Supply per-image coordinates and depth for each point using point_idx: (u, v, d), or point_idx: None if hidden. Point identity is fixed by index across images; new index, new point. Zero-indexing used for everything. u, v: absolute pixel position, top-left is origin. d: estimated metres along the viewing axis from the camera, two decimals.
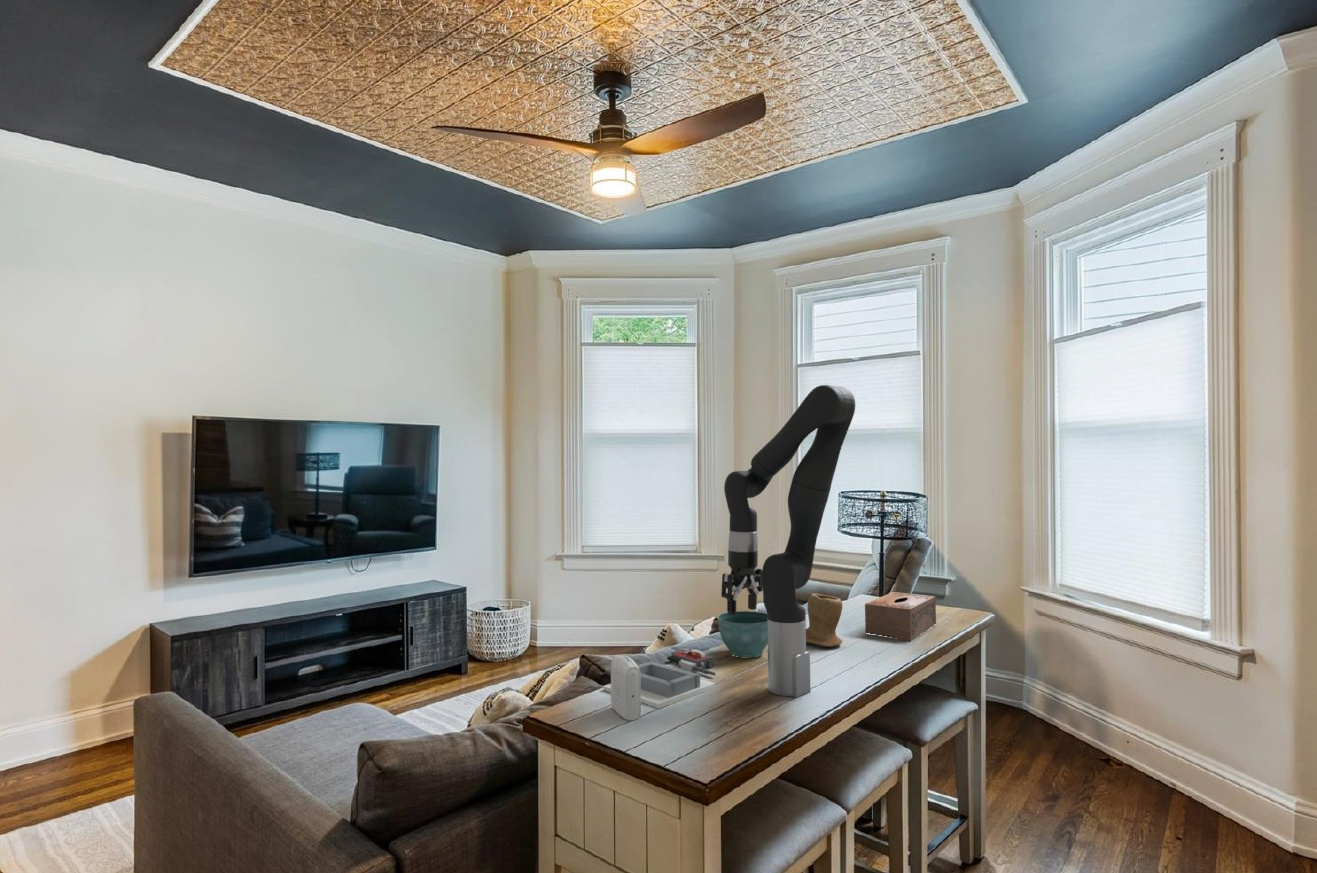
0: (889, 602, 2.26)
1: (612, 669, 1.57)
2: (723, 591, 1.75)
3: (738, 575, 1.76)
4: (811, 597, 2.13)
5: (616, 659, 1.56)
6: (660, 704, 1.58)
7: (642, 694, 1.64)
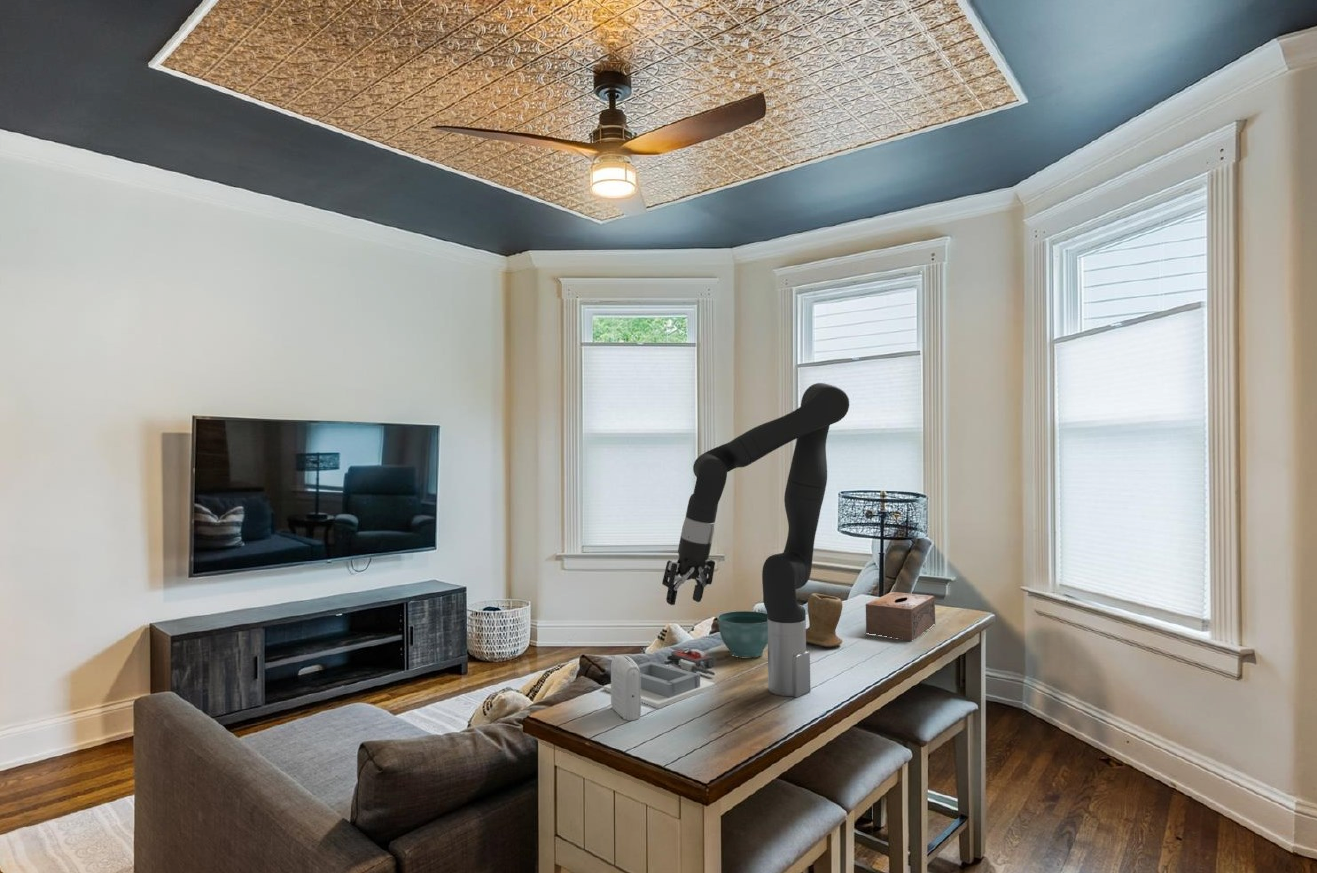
0: (889, 602, 2.26)
1: (612, 669, 1.57)
2: (665, 579, 1.62)
3: (684, 565, 1.63)
4: (811, 597, 2.13)
5: (616, 659, 1.56)
6: (660, 704, 1.58)
7: (642, 694, 1.64)
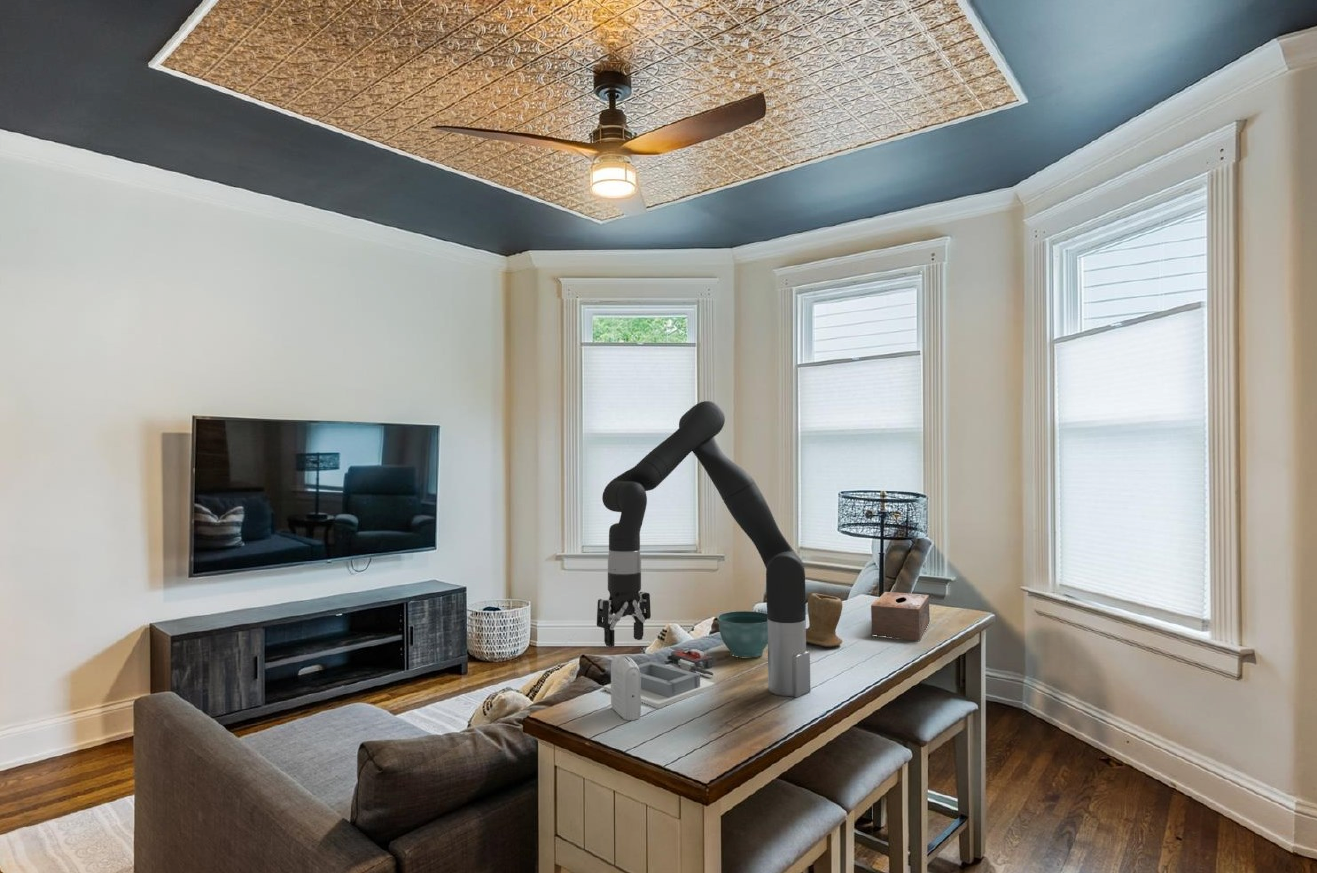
0: (892, 602, 2.25)
1: (612, 669, 1.57)
2: (599, 619, 1.52)
3: (617, 601, 1.53)
4: (811, 597, 2.13)
5: (616, 659, 1.56)
6: (660, 704, 1.58)
7: (642, 694, 1.64)
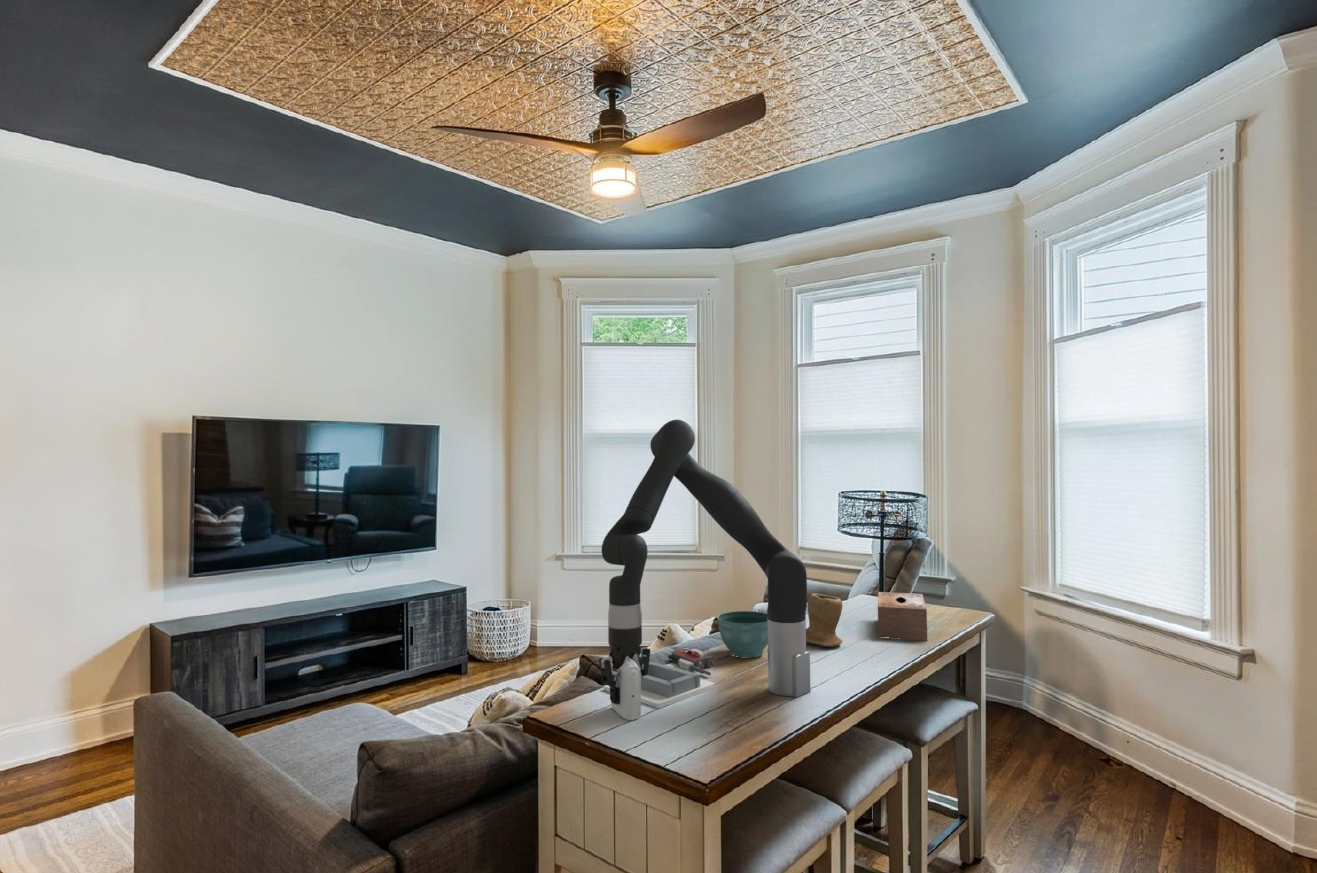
0: (895, 603, 2.24)
1: None
2: (604, 678, 1.52)
3: (617, 656, 1.53)
4: (811, 597, 2.13)
5: None
6: (660, 704, 1.58)
7: (642, 694, 1.64)
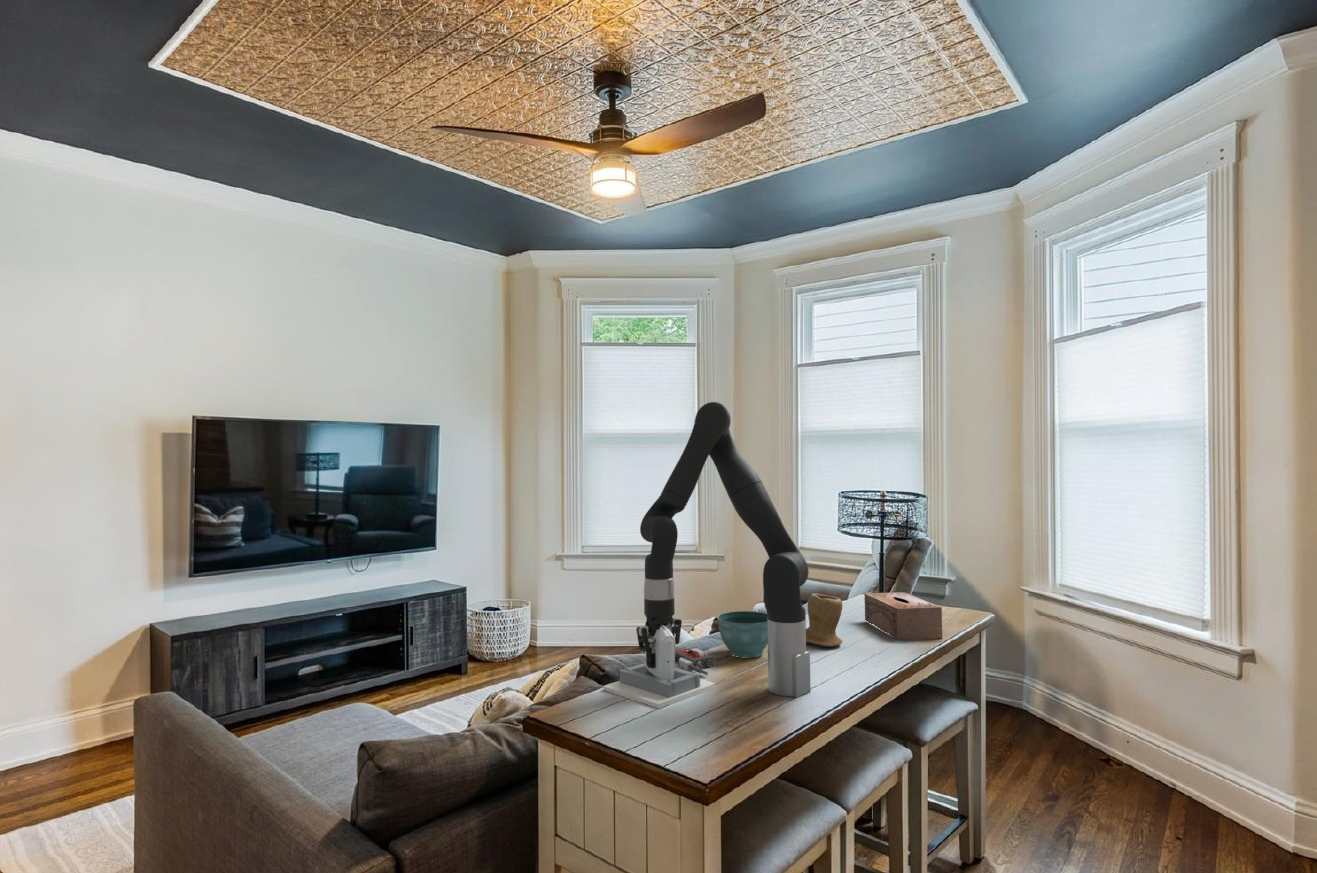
0: (904, 603, 2.23)
1: None
2: (641, 644, 1.68)
3: (653, 625, 1.69)
4: (811, 597, 2.13)
5: None
6: (660, 704, 1.58)
7: (642, 694, 1.64)
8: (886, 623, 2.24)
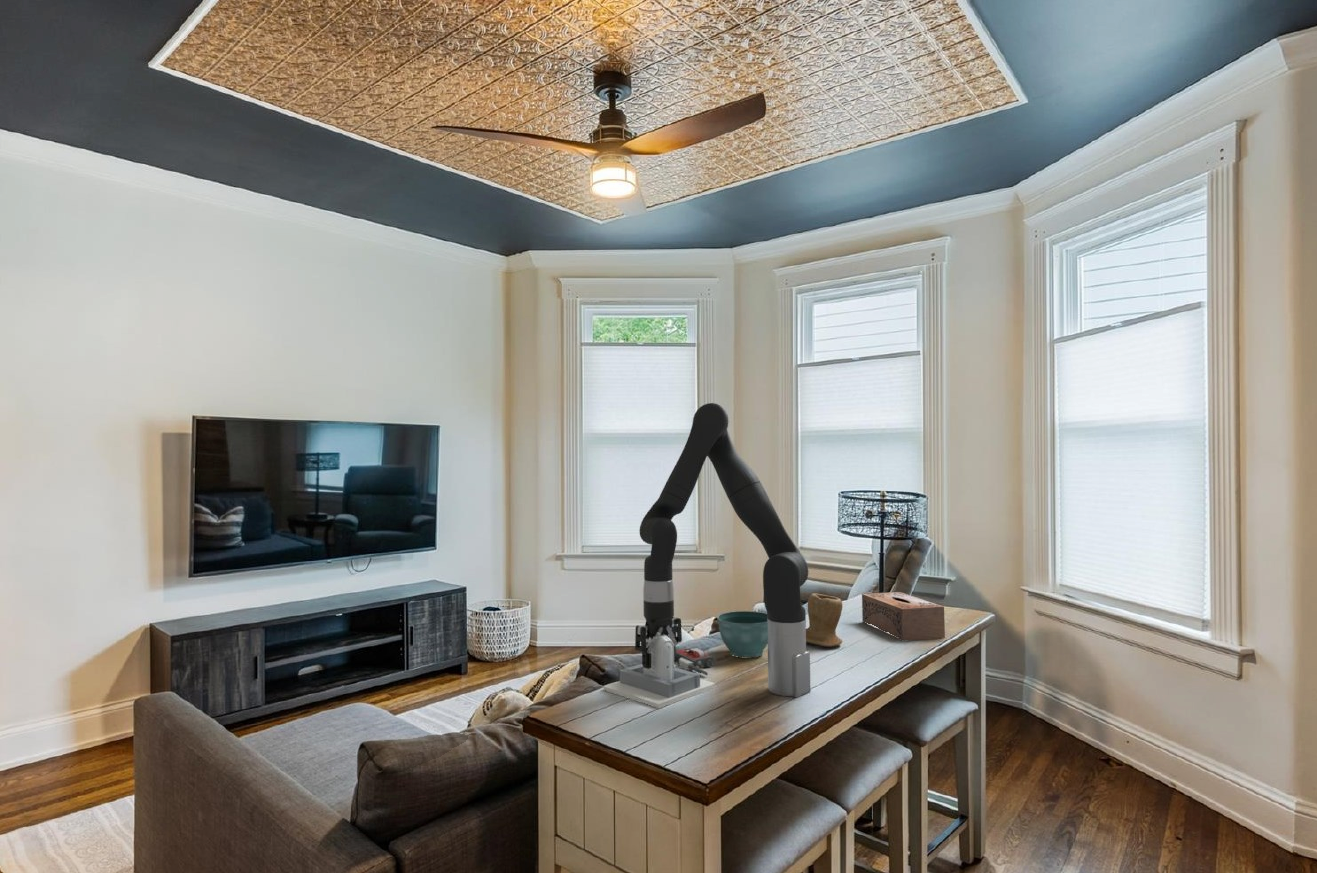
0: (906, 603, 2.23)
1: None
2: (637, 644, 1.68)
3: (652, 626, 1.69)
4: (811, 597, 2.13)
5: None
6: (660, 704, 1.58)
7: (642, 694, 1.64)
8: (888, 624, 2.23)
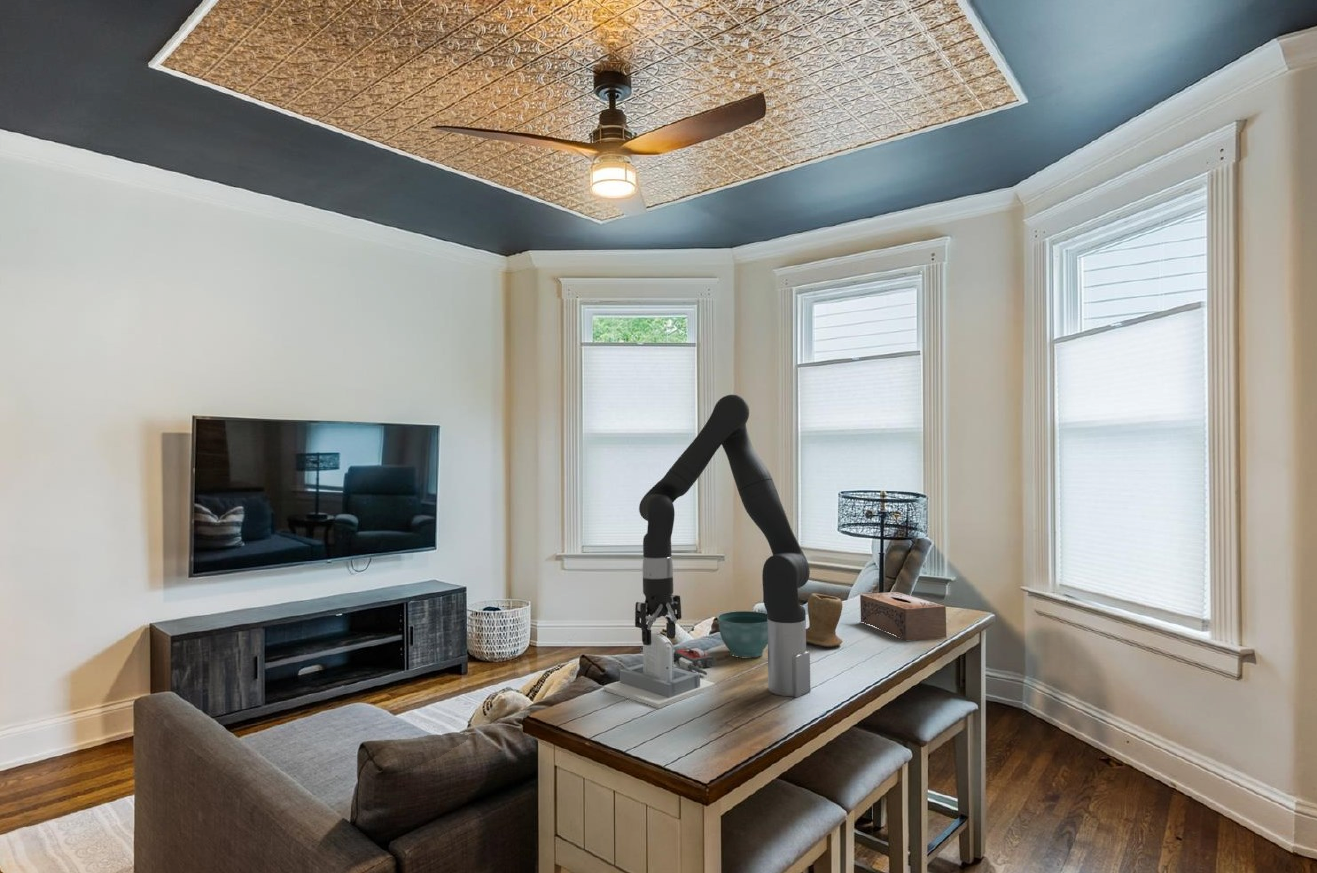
0: (907, 603, 2.23)
1: (645, 645, 1.74)
2: (637, 620, 1.67)
3: (652, 603, 1.69)
4: (811, 597, 2.13)
5: None
6: (660, 704, 1.58)
7: (642, 694, 1.64)
8: (890, 624, 2.23)
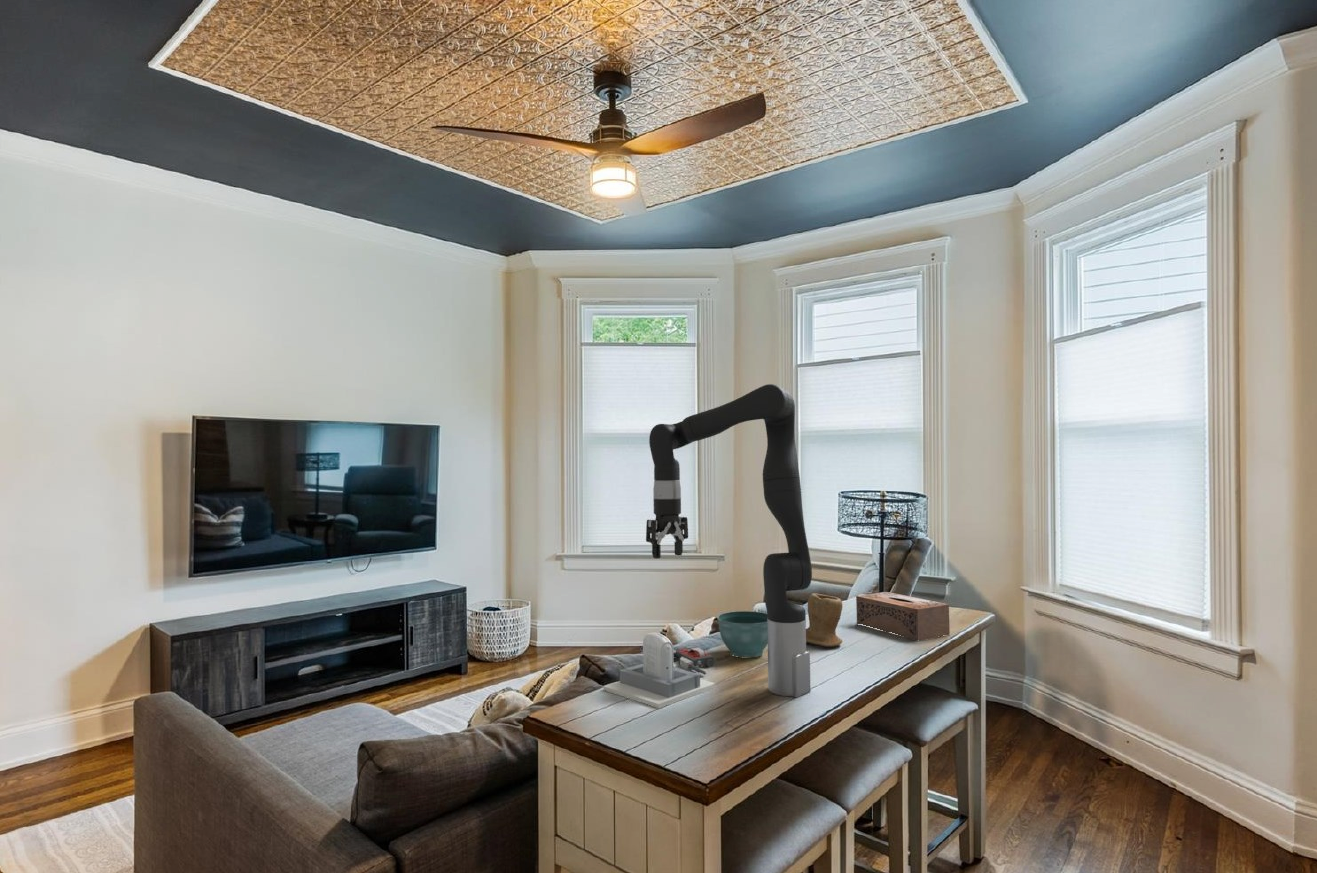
0: (912, 603, 2.23)
1: (645, 645, 1.74)
2: (648, 536, 1.86)
3: (662, 521, 1.87)
4: (811, 597, 2.13)
5: (649, 636, 1.73)
6: (660, 704, 1.58)
7: (642, 694, 1.64)
8: (896, 625, 2.22)
